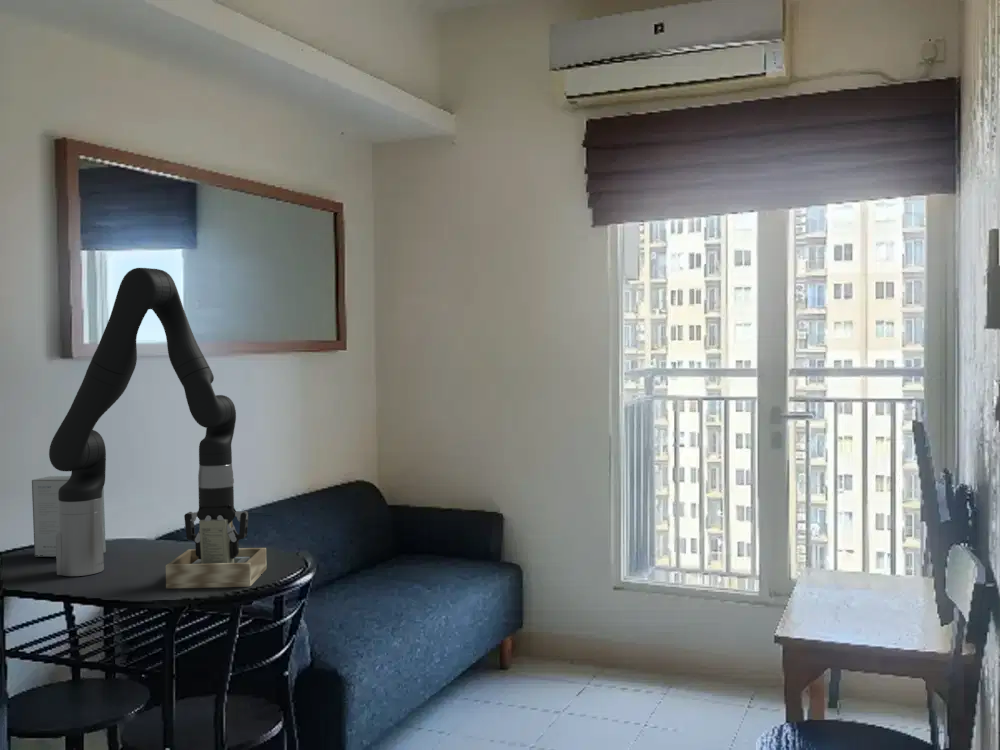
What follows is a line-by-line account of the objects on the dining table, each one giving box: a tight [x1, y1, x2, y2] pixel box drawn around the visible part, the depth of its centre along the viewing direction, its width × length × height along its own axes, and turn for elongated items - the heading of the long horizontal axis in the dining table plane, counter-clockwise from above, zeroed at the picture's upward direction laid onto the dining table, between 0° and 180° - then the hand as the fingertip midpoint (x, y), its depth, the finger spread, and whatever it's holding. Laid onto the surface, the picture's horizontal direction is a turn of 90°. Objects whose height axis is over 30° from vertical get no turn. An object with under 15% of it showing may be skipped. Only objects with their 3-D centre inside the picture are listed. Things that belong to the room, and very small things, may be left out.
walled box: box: [165, 547, 268, 589], centre depth 206 cm, size 18×16×5 cm
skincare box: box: [198, 519, 234, 564], centre depth 205 cm, size 6×4×12 cm
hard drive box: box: [31, 475, 107, 556], centre depth 232 cm, size 16×8×20 cm, turn 81°
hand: (217, 557), depth 206 cm, fingers closed on skincare box, 6 cm apart
